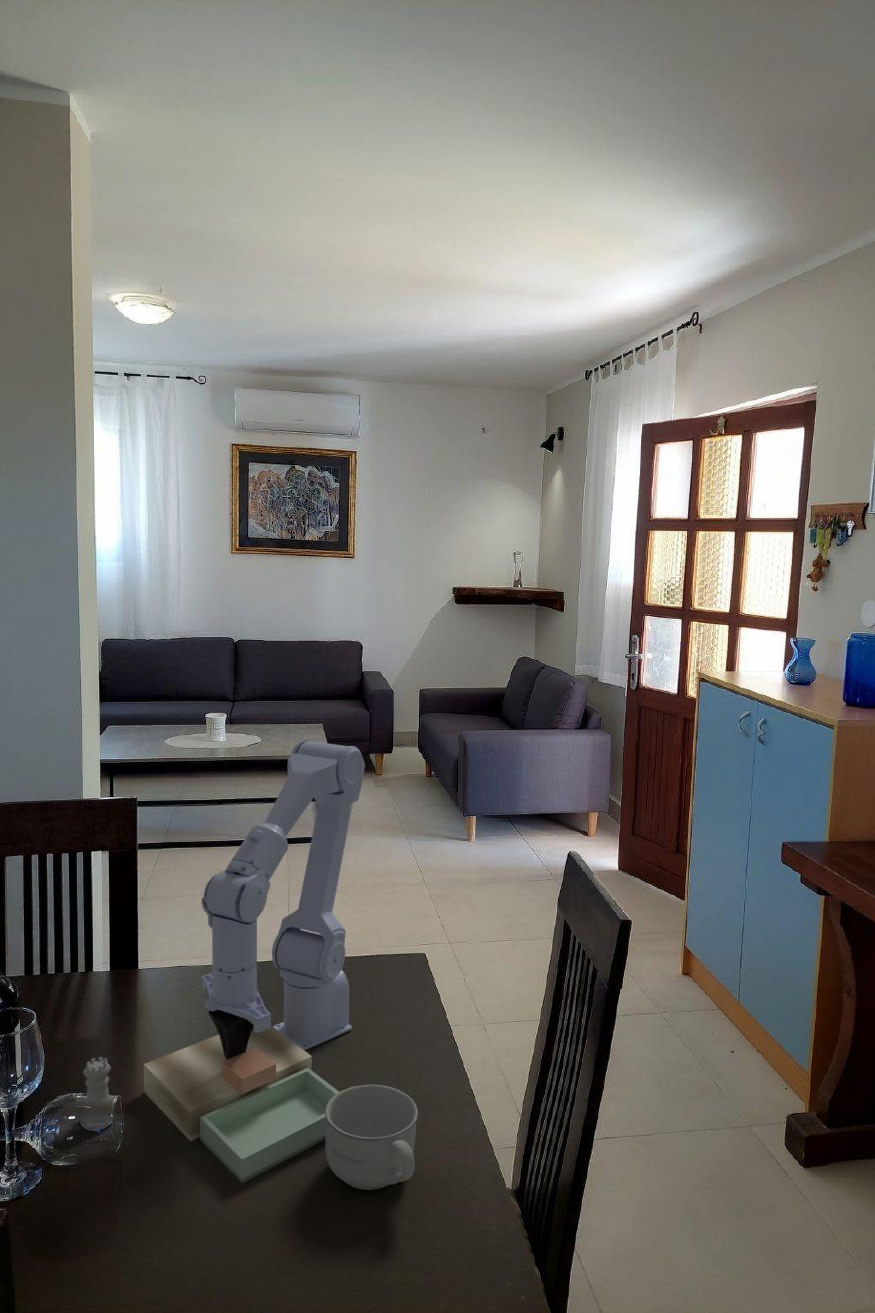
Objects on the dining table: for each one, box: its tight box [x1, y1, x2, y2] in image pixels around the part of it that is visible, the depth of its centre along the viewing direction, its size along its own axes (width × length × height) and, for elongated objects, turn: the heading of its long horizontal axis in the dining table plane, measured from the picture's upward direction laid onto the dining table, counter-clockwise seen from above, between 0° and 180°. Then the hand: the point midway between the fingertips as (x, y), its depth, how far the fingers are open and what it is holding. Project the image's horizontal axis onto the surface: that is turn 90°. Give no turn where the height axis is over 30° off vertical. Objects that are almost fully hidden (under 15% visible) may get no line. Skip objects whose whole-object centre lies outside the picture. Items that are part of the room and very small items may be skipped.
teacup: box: [324, 1084, 419, 1191], centre depth 102 cm, size 14×11×8 cm
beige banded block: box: [143, 1025, 313, 1142], centre depth 119 cm, size 18×13×4 cm
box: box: [199, 1068, 340, 1184], centre depth 111 cm, size 16×10×3 cm, turn 133°
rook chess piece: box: [82, 1056, 112, 1102], centre depth 111 cm, size 4×4×8 cm
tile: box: [222, 1048, 276, 1094], centre depth 115 cm, size 5×5×2 cm
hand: (235, 1059), depth 118 cm, fingers closed
